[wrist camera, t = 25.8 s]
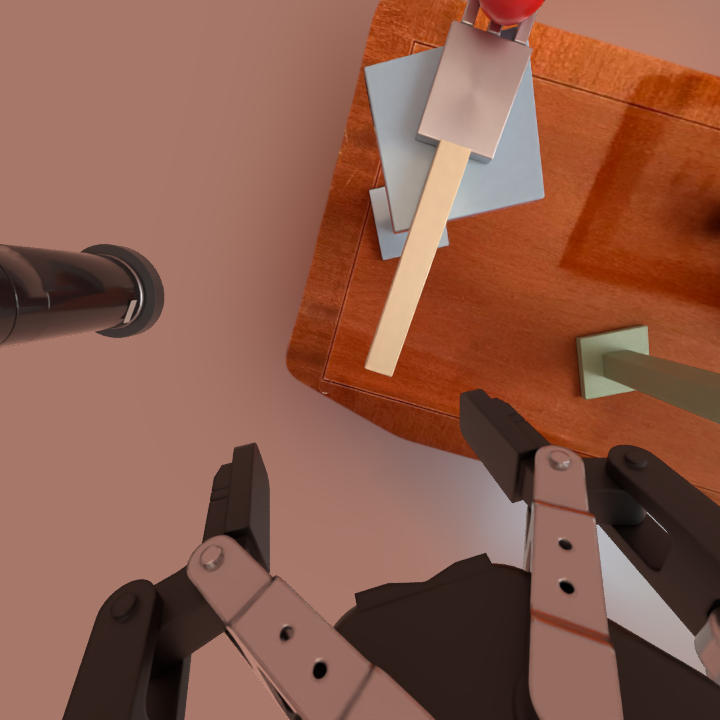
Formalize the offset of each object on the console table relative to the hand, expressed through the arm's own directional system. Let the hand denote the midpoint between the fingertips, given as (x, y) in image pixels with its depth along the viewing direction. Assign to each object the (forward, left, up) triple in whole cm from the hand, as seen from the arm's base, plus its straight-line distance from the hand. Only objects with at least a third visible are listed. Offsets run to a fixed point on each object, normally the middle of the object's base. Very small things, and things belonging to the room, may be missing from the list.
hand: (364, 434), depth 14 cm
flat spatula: (+6, +9, -8) cm, 13 cm away
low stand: (+7, +12, -33) cm, 35 cm away
